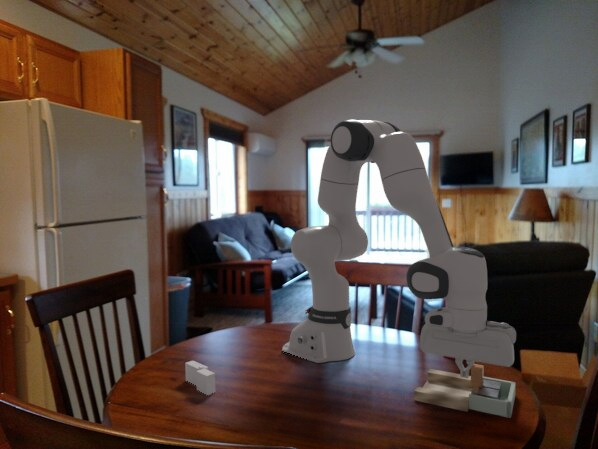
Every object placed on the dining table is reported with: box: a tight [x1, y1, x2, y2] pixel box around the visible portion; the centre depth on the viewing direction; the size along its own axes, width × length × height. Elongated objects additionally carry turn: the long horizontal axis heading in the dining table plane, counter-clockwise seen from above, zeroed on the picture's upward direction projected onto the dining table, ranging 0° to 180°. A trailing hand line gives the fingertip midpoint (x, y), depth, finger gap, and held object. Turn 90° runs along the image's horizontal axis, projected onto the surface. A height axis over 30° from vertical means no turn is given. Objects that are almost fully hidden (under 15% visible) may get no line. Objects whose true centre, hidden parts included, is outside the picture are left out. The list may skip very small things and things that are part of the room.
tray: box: [468, 376, 517, 419], centre depth 98 cm, size 8×12×4 cm
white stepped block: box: [184, 360, 216, 396], centre depth 110 cm, size 15×11×6 cm
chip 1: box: [477, 387, 499, 400], centre depth 96 cm, size 4×4×3 cm
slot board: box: [413, 368, 473, 413], centre depth 103 cm, size 12×15×3 cm
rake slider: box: [470, 363, 485, 395], centre depth 99 cm, size 2×9×7 cm, turn 150°
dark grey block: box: [483, 379, 501, 400], centre depth 100 cm, size 4×4×3 cm
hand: (464, 377), depth 100 cm, fingers closed
